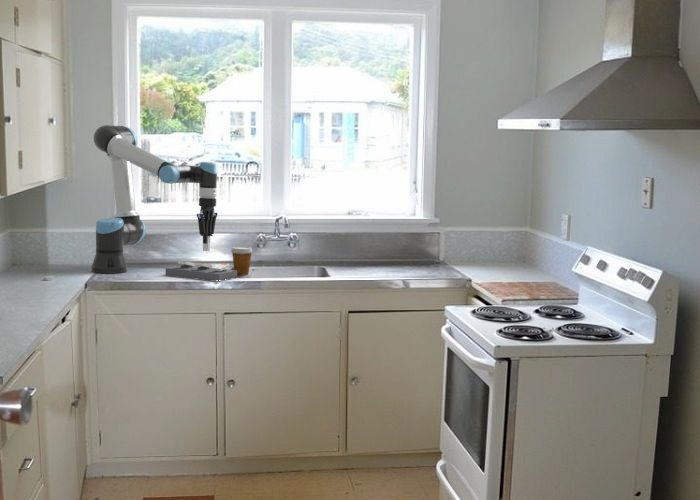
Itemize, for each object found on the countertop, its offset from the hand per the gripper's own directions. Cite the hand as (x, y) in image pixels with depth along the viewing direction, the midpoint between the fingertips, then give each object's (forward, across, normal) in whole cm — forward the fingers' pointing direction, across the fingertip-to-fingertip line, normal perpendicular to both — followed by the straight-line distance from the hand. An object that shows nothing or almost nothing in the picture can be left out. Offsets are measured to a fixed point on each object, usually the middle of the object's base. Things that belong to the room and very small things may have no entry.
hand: (206, 250), depth 373 cm
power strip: (+11, -4, 0) cm, 12 cm away
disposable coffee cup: (+11, +13, -10) cm, 20 cm away
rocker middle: (+6, -2, 0) cm, 7 cm away
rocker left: (+6, -2, +9) cm, 11 cm away
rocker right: (+6, -2, -9) cm, 11 cm away
